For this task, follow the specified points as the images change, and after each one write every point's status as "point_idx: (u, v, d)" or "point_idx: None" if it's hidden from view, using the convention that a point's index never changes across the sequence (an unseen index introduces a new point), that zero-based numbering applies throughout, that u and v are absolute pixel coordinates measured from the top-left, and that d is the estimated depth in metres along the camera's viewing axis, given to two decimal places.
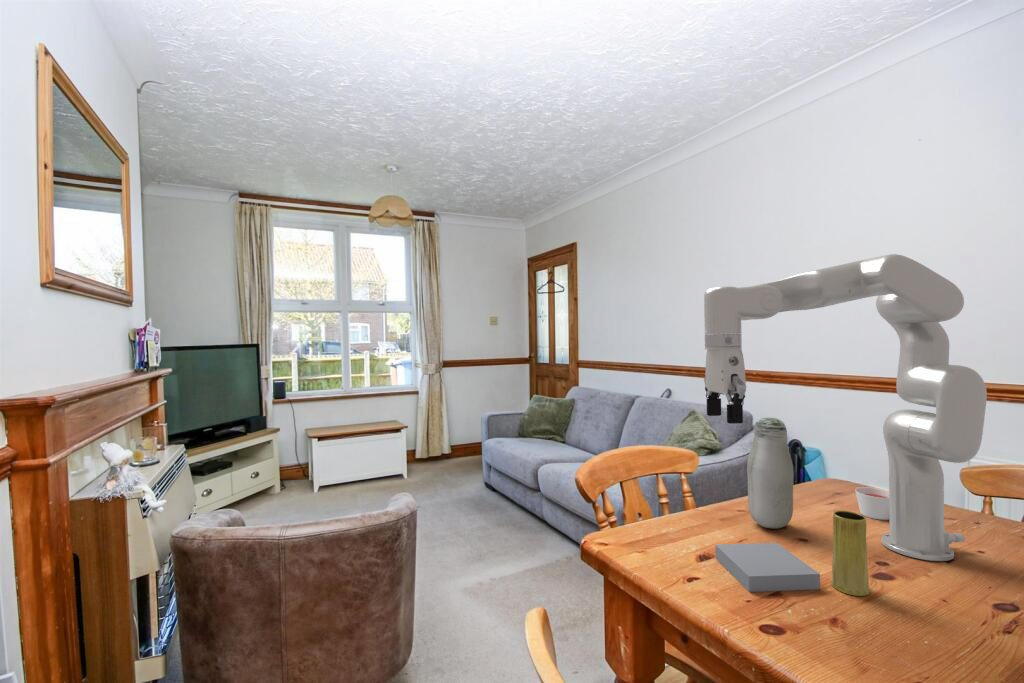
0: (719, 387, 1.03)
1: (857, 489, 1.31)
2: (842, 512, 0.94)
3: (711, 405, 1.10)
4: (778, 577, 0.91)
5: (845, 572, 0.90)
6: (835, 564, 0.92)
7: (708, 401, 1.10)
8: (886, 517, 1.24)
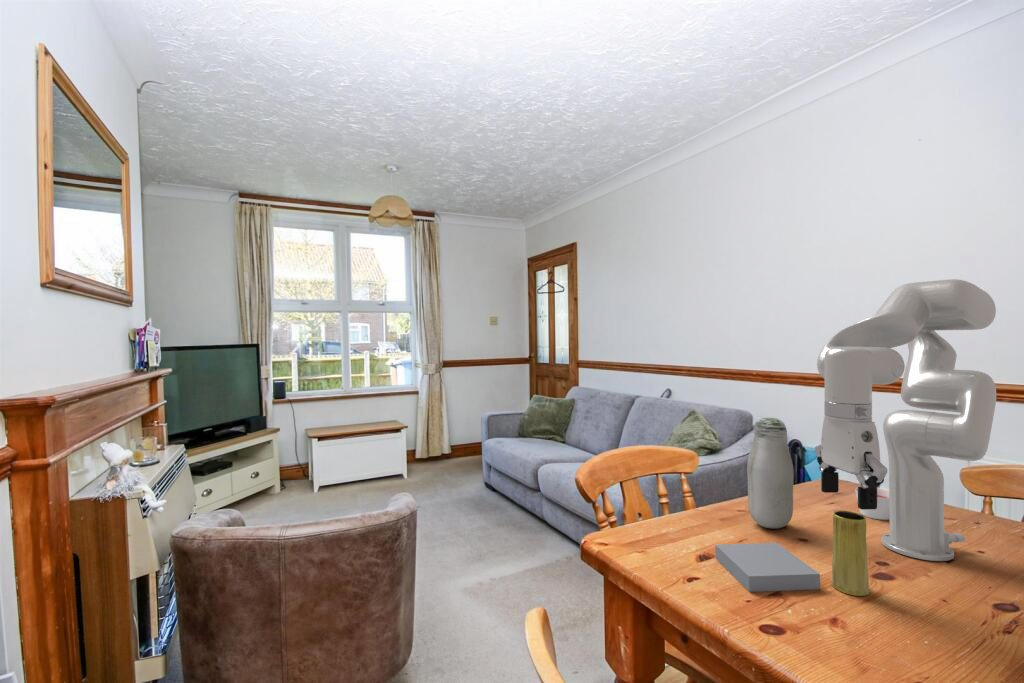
0: (846, 464, 0.89)
1: (857, 489, 1.31)
2: (842, 512, 0.94)
3: (827, 480, 0.96)
4: (778, 577, 0.91)
5: (845, 572, 0.90)
6: (835, 564, 0.92)
7: (824, 476, 0.96)
8: (886, 517, 1.24)
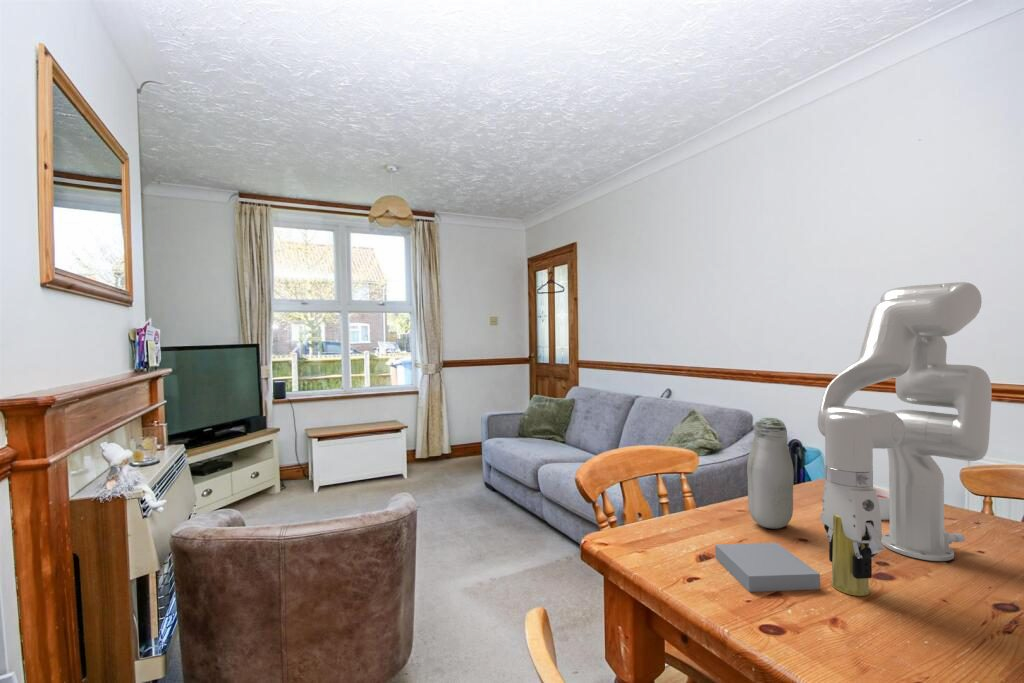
0: (848, 531, 0.89)
1: None
2: None
3: None
4: (778, 577, 0.91)
5: (845, 572, 0.90)
6: (835, 564, 0.92)
7: (832, 546, 0.95)
8: (886, 517, 1.24)
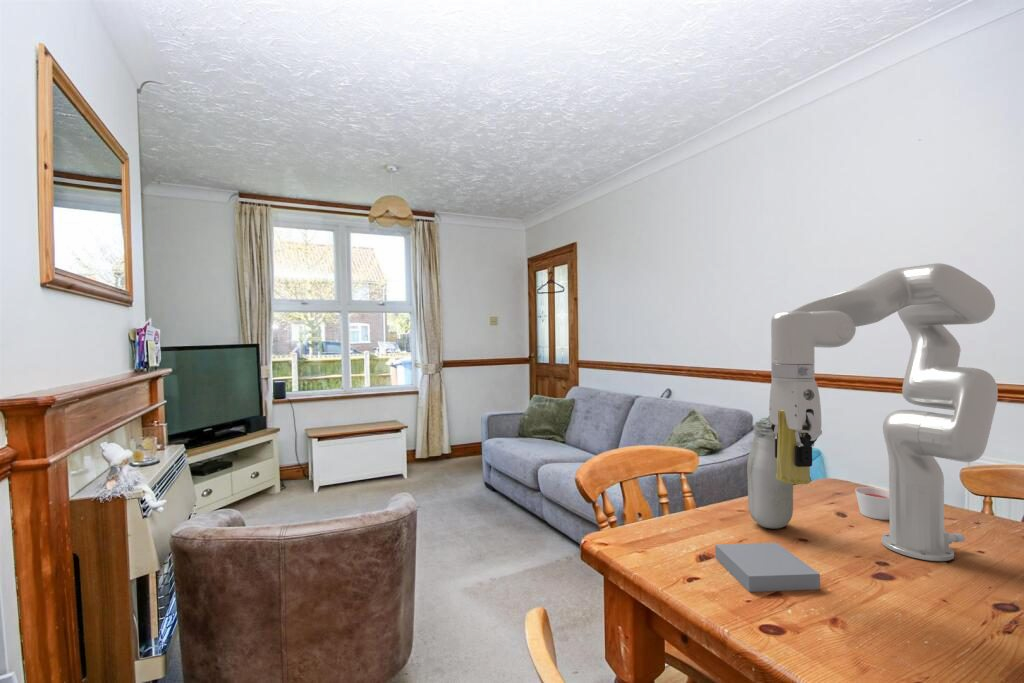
0: (790, 422, 0.93)
1: (857, 489, 1.31)
2: None
3: None
4: (778, 577, 0.91)
5: (788, 462, 0.94)
6: (779, 457, 0.96)
7: None
8: (886, 517, 1.24)
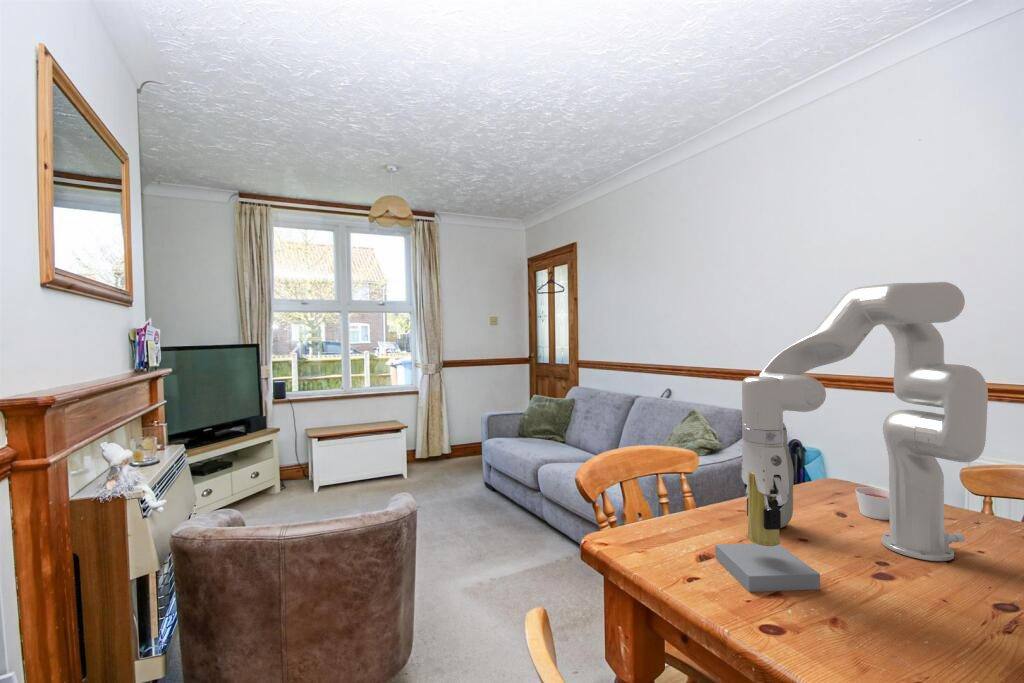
0: (759, 486, 0.96)
1: (857, 489, 1.31)
2: None
3: None
4: (778, 577, 0.91)
5: (757, 524, 0.97)
6: (749, 518, 0.98)
7: None
8: (886, 517, 1.24)
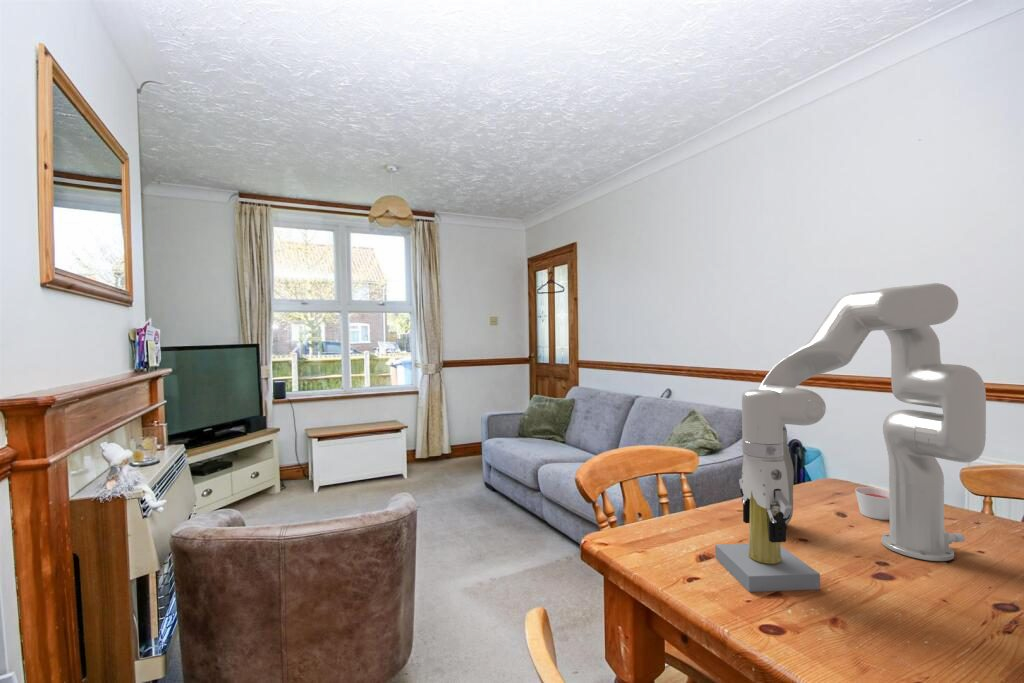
0: (759, 500, 0.96)
1: (857, 489, 1.31)
2: None
3: (748, 512, 1.03)
4: (778, 577, 0.91)
5: (759, 542, 0.97)
6: (751, 535, 0.98)
7: (745, 507, 1.03)
8: (886, 517, 1.24)
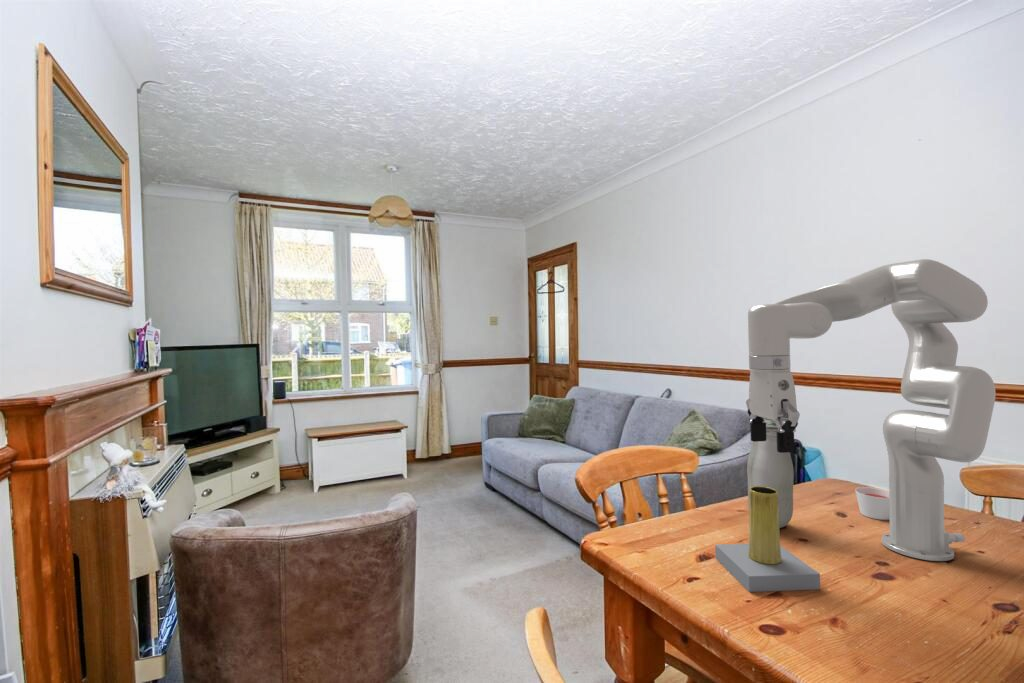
0: (767, 412, 0.95)
1: (857, 489, 1.31)
2: (758, 487, 1.01)
3: (755, 430, 1.03)
4: (778, 577, 0.91)
5: (758, 542, 0.97)
6: (750, 536, 0.98)
7: (752, 426, 1.03)
8: (886, 517, 1.24)
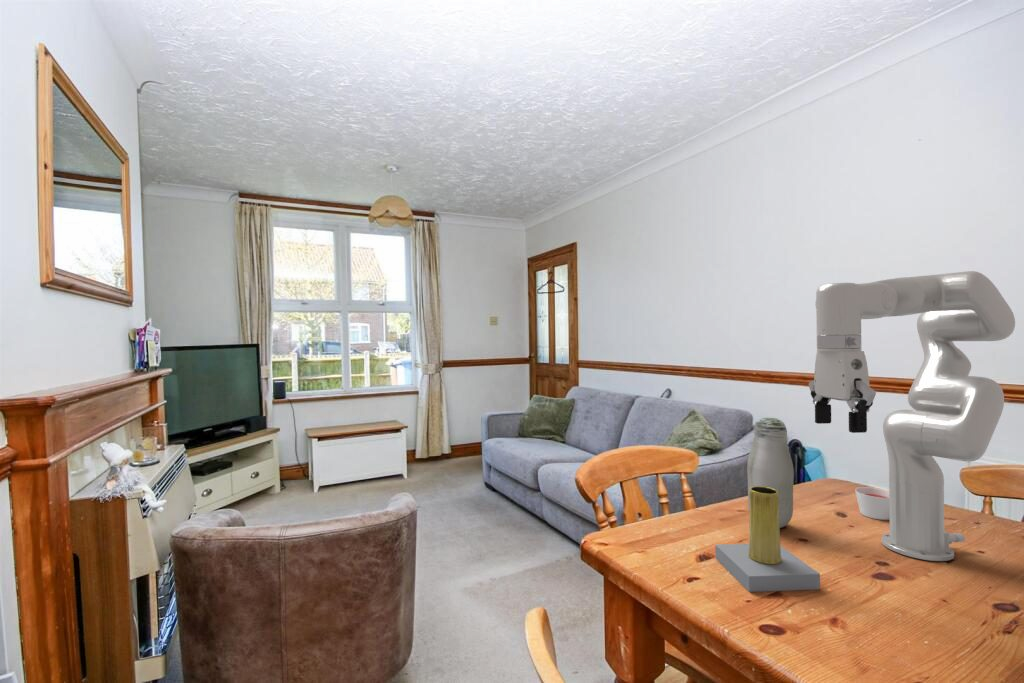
0: (837, 392, 0.94)
1: (857, 489, 1.32)
2: (759, 487, 1.01)
3: (820, 412, 1.01)
4: (778, 577, 0.91)
5: (758, 542, 0.97)
6: (751, 536, 0.98)
7: (817, 407, 1.01)
8: (886, 517, 1.24)
